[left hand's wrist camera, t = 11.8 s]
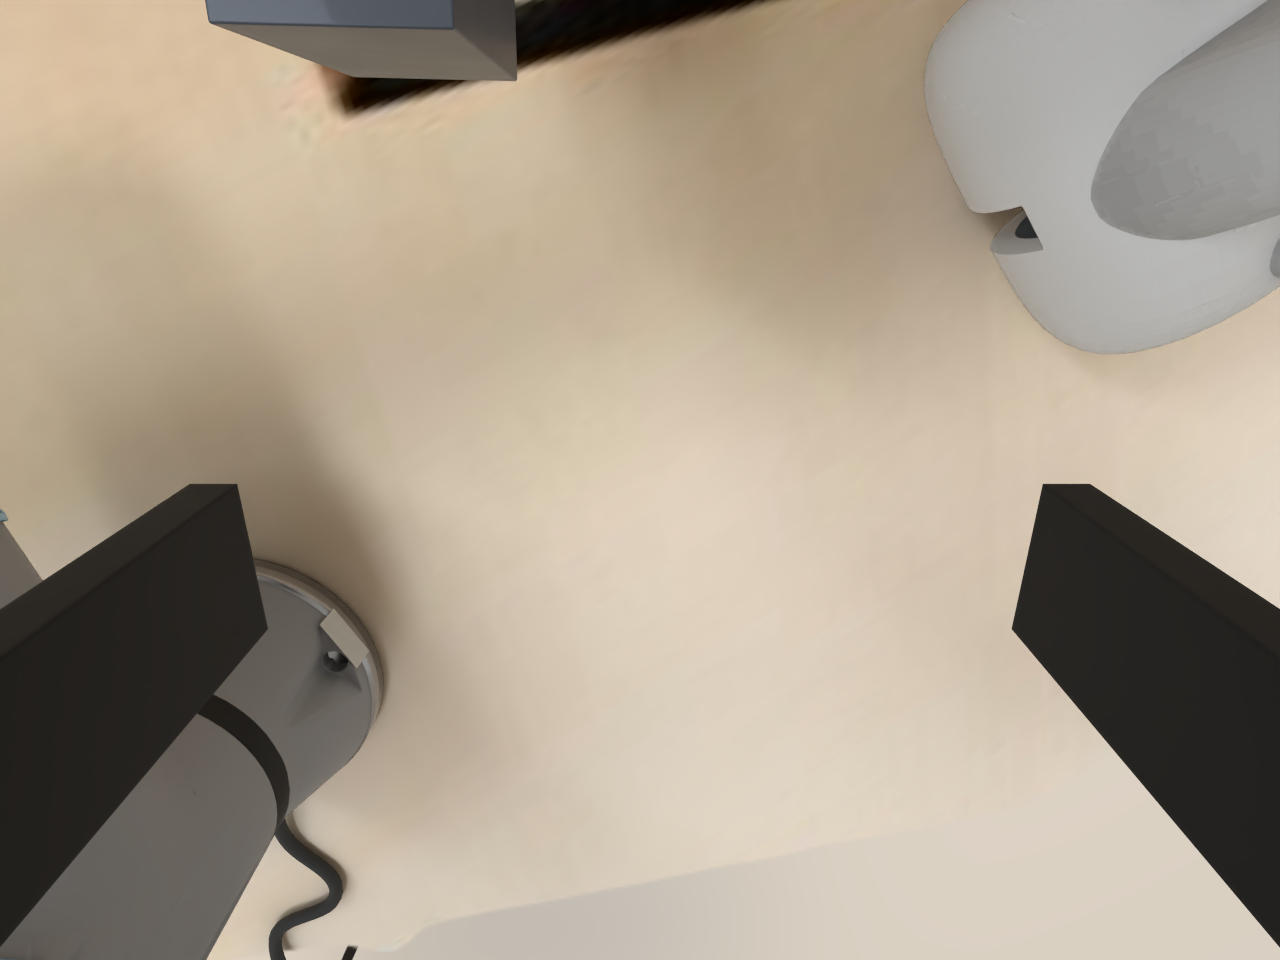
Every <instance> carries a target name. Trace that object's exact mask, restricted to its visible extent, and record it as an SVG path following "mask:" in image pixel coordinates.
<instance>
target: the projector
mask: <svg viewBox="0 0 1280 960" xmlns="http://www.w3.org/2000/svg"><path fill="white" fill-rule="evenodd" d="M924 95H925V103H926V109H927V113H928V117H929V121H930V123H931V126H932V129H933V132H934V135H935V138H936V141H937V143H938V145H939V148H940V150H941V152H942V155H943V157H944V159H945V162H946V164H947V166H948V168H949V170H950V172H951V174H952V177H953V179H954V181H955V183H956V185H957V187H958V189H959V191H960V193H961V195H962V196H963V198H964V200H965V202H966V204H967V206H968V208H969V209H970V210H971V211H973V212H976V213H993V212H999V211H1004V210H1009V209H1013V208H1016V207H1020V206H1021V207H1023V209H1024V210H1023V211H1021V212H1020V213H1019V214H1017V215H1016V216H1015V217H1013V218H1012V219H1011V220H1010V221H1008V222H1007V223H1006V224H1005V225H1004V226H1003V227H1002V228H1001V229H1000V230H999V232H998V233H997V234H996V236H995V237H994V238H993V240H992V243H991V245H990V249H991V251H992V253H993V255H994V257H995V258H996V260H997V262H998V264H999V266H1000V268H1001V269H1002V271H1003V273H1004V275H1005V276H1006V278H1007V280H1008V281H1009V283H1010V285H1011V287H1012V288H1013V290H1014V291H1015V293H1016V294H1017V296H1018V298H1019V299H1020V301H1021V302H1022V303H1023V305H1024V306H1025V308H1026V309H1027V310H1028V311H1029V313H1030V314H1031V315H1032V317H1033V318H1034V319H1035V320H1036V321H1037V322H1038V323H1039V324H1040V325H1041V326H1042V327H1043V328H1044V329H1045V330H1046V331H1048V332H1049V333H1050V334H1051V335H1053V336H1054V337H1055V338H1057V339H1059V340H1060V341H1062V342H1064V343H1065V344H1067V345H1070V346H1072V347H1074V348H1077V349H1080V350H1083V351H1086V352H1091V353H1096V354H1123V353H1132V352H1137V351H1142V350H1146V349H1151V348H1155V347H1160V346H1163V345H1166V344H1169V343H1172V342H1175V341H1178V340H1181V339H1184V338H1186V337H1189V336H1191V335H1193V334H1195V333H1198V332H1200V331H1202V330H1205V329H1207V328H1209V327H1212V326H1214V325H1216V324H1218V323H1220V322H1222V321H1224V320H1226V319H1227V318H1229V317H1231V316H1233V315H1235V314H1237V313H1238V312H1240V311H1242V310H1244V309H1246V308H1248V307H1249V306H1251V305H1252V304H1254V303H1255V302H1257V301H1259V300H1260V299H1262V298H1263V297H1265V296H1266V295H1268V294H1269V293H1271V292H1272V291H1274V290H1275V289H1277V288H1278V287H1280V0H968V1H966V2H965V3H964V4H963V5H962V6H961V7H960V8H959V9H958V10H957V11H956V12H955V14H954V15H953V16H952V17H951V18H950V19H949V21H948V22H947V23H946V24H945V26H944V27H943V28H942V29H941V31H940V32H939V34H938V35H937V37H936V39H935V41H934V43H933V45H932V47H931V49H930V52H929V55H928V58H927V62H926V68H925V79H924Z"/></svg>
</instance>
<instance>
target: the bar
mask: <svg viewBox="0 0 1280 960" xmlns="http://www.w3.org/2000/svg"><path fill="white" fill-rule="evenodd" d="M205 2H206V8H207V14H208V20H209V22H210V23H211V24H213V25H216V26H219V27H221V28H224V29H227V30H230V31H232V32H235V33H238V34H240V35H243V36H246V37H248V38H251V39H254V40H256V41H259V42H262V43H264V44H267V45H270V46H272V47H275V48H278V49H280V50H283V51H286V52H288V53H291V54H294V55H296V56H299V57H302V58H304V59H307V60H310V61H312V62H315V63H318V64H320V65H323V66H326V67H328V68H331V69H334V70H337V71H339V72H342V73H345V74H347V75H350V76H353V77H379V78H417V79H456V80H495V81H516V80H517V61H516V31H515V1H514V0H205Z"/></svg>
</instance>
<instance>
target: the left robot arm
mask: <svg viewBox="0 0 1280 960" xmlns="http://www.w3.org/2000/svg"><path fill="white" fill-rule="evenodd" d="M7 520H8V518H7V516H6V514H5V512H4V511H3V510H2V509H0V960H206V959H207V957H208V955H209V954H210V952H211V950H212V948H213V946H214V944H215V943H216V941H217V939H218V937H219V935H220V934H221V932H222V930H223V928H224V926H225V924H226V923H227V921H228V919H229V917H230V915H231V914H232V912H233V910H234V908H235V906H236V904H237V903H238V901H239V899H240V897H241V895H242V893H243V892H244V890H245V888H246V886H247V884H248V883H249V881H250V879H251V877H252V875H253V873H254V872H255V870H256V868H257V866H258V864H259V863H260V861H261V859H262V857H263V855H264V853H265V852H266V850H267V848H268V846H269V844H270V842H271V840H272V838H273V837H274V835H275V836H276V838H277V840H278V841H279V843H280V844H281V845H282V847H283V848H284V849H285V850H286V851H287V852H288V853H289V854H290V855H292V856H293V857H294V858H295V859H297V860H298V861H299V862H301V863H302V864H304V865H305V866H307V867H308V868H310V869H311V870H312V871H314V872H315V873H316V874H318V875H319V876H320V877H321V878H322V879H323V880H324V881H325V882H326V884H327V885H328V887H329V890H330V892H329V897H328V898H327V899H326V900H324V901H323V902H321V903H319V904H317V905H314V906H312V907H309V908H306V909H303V910H301V911H298V912H295V913H293V914H290V915H288V916H286V917H284V918H283V919H281V920H280V921H279V922H277V924H276V925H275V926H274V928H273V929H272V930H271V933H270V936H269V952H270V957H271V960H286V958H285V956H284V952H283V948H282V936H283V934H284V933H285V932H286V931H287V930H289V929H290V928H292V927H294V926H297V925H300V924H302V923H305V922H308V921H311V920H314V919H316V918H319V917H321V916H324V915H325V914H327V913H329V912H331V911H332V910H333V909H334V908H335V907H336V906H337V904H338V903H339V901H340V900H341V898H342V893H343V887H342V881H341V879H340V876H339V875H338V873H337V872H336V871H335V869H334V868H333V867H332V866H331V865H329V864H328V863H327V862H326V861H325V860H323V859H322V858H320V857H319V856H318V855H316V854H315V853H313V852H312V851H311V850H309V849H308V848H306V847H305V846H304V845H303V844H301V843H300V842H299V841H298V840H297V839H296V838H295V837H294V835H293V834H292V833H291V831H290V830H289V828H288V826H287V823H286V820H285V817H286V816H287V815H288V814H289V813H290V812H291V811H293V810H294V809H295V808H296V807H297V806H298V805H300V804H301V803H302V802H303V801H304V800H305V799H306V798H308V797H309V796H310V795H311V794H312V793H313V792H314V791H316V790H317V789H318V788H319V787H320V786H321V785H323V784H324V783H325V782H326V781H327V780H328V779H329V778H331V777H332V776H333V775H334V774H335V773H336V772H338V771H339V770H340V769H341V768H342V767H343V766H345V765H346V764H347V763H348V762H349V761H350V760H351V759H352V758H353V757H354V755H355V754H356V753H357V752H358V750H359V749H360V747H361V746H362V744H363V742H364V741H365V739H366V737H367V735H368V733H369V731H370V729H371V727H372V725H373V723H374V721H375V719H376V716H377V714H378V712H379V708H380V705H381V701H382V695H383V674H382V668H381V663H380V660H379V656H378V653H377V650H376V648H375V646H374V644H373V641H372V639H371V638H370V636H369V634H368V632H367V631H366V629H365V628H364V626H363V625H362V623H361V622H360V620H359V619H358V618H357V617H356V616H355V614H354V613H353V612H352V611H351V610H350V609H349V608H348V607H347V606H346V605H345V604H344V603H343V602H342V601H341V600H340V599H339V598H337V597H336V596H335V595H334V594H333V593H331V592H330V591H329V590H327V589H326V588H324V587H323V586H322V585H320V584H318V583H317V582H315V581H313V580H312V579H310V578H308V577H306V576H304V575H302V574H300V573H298V572H296V571H293V570H291V569H288V568H286V567H283V566H280V565H277V564H273V563H270V562H266V561H261V560H256V559H253V556H252V551H251V547H250V542H249V537H248V533H247V528H246V524H245V519H244V514H243V510H242V505H241V500H240V496H239V491H238V486H237V484H189V485H188V486H186V487H185V488H183V489H182V490H180V491H179V492H177V493H176V494H174V495H173V496H171V497H170V498H168V499H167V500H165V501H163V502H162V503H160V504H159V505H157V506H156V507H154V508H153V509H151V510H150V511H148V512H147V513H145V514H144V515H142V516H141V517H139V518H138V519H136V520H135V521H133V522H132V523H130V524H129V525H127V526H126V527H124V528H123V529H121V530H119V531H118V532H116V533H115V534H113V535H112V536H110V537H109V538H107V539H106V540H104V541H103V542H101V543H100V544H98V545H97V546H95V547H94V548H92V549H91V550H89V551H88V552H86V553H85V554H83V555H82V556H80V557H79V558H77V559H75V560H74V561H72V562H71V563H69V564H68V565H66V566H65V567H63V568H62V569H60V570H59V571H57V572H56V573H54V574H53V575H51V576H50V577H48V578H47V579H45V580H44V581H43V580H42V579H41V577H40V576H39V574H38V573H37V571H36V570H35V569H34V567H33V566H32V564H31V563H30V561H29V560H28V558H27V557H26V555H25V554H24V552H23V551H22V550H21V548H20V547H19V545H18V544H17V542H16V541H15V539H14V538H13V536H12V535H11V533H10V532H9V530H8V529H7V528H6V526H5V525H4V523H3V522H4V521H7ZM1012 630H1013V631H1014V632H1015V633H1016V635H1017V636H1018V637H1019V638H1020V639H1021V641H1022V642H1023V643H1024V644H1025V645H1026V646H1027V648H1028V649H1029V650H1030V651H1031V652H1032V654H1033V655H1034V656H1035V657H1036V658H1037V660H1038V661H1039V662H1040V663H1041V664H1042V665H1043V667H1044V668H1045V669H1046V670H1047V671H1048V673H1049V674H1050V675H1051V676H1052V677H1053V679H1054V680H1055V681H1056V682H1057V683H1058V684H1059V686H1060V687H1061V688H1062V689H1063V690H1064V692H1065V693H1066V694H1067V695H1068V696H1069V698H1070V699H1071V700H1072V701H1073V702H1074V703H1075V705H1076V706H1077V707H1078V708H1079V709H1080V711H1081V712H1082V713H1083V714H1084V715H1085V717H1086V718H1087V719H1088V720H1089V721H1090V722H1091V724H1092V725H1093V726H1094V727H1095V728H1096V730H1097V731H1098V732H1099V733H1100V734H1101V736H1102V737H1103V738H1104V739H1105V740H1106V741H1107V743H1108V744H1109V745H1110V746H1111V747H1112V749H1113V750H1114V751H1115V752H1116V753H1117V755H1118V756H1119V757H1120V758H1121V759H1122V760H1123V762H1124V763H1125V764H1126V765H1127V766H1128V768H1129V769H1130V770H1131V771H1132V772H1133V774H1134V775H1135V776H1136V777H1137V778H1138V779H1139V781H1140V782H1141V783H1142V784H1143V785H1144V787H1145V788H1146V789H1147V790H1148V791H1149V792H1150V794H1151V795H1152V796H1153V797H1154V798H1155V800H1156V801H1157V802H1158V803H1159V804H1160V806H1161V807H1162V808H1163V809H1164V810H1165V812H1166V813H1167V814H1168V815H1169V816H1170V817H1171V819H1172V820H1173V821H1174V822H1175V823H1176V825H1177V826H1178V827H1179V828H1180V829H1181V831H1182V832H1183V833H1184V834H1185V835H1186V837H1187V838H1188V839H1189V840H1190V841H1191V842H1192V844H1193V845H1194V846H1195V847H1196V848H1197V850H1198V851H1199V852H1200V853H1201V854H1202V856H1203V857H1204V858H1205V859H1206V860H1207V861H1208V863H1209V864H1210V865H1211V866H1212V867H1213V869H1214V870H1215V871H1216V872H1217V873H1218V875H1219V876H1220V877H1221V878H1222V879H1223V880H1224V882H1225V883H1226V884H1227V885H1228V886H1229V888H1230V889H1231V890H1232V891H1233V892H1234V894H1235V895H1236V896H1237V897H1238V898H1239V899H1240V901H1241V902H1242V903H1243V904H1244V905H1245V907H1246V908H1247V909H1248V910H1249V911H1250V913H1251V914H1252V915H1253V916H1254V917H1255V918H1256V920H1257V921H1258V922H1259V923H1260V924H1261V926H1262V927H1263V928H1264V929H1265V930H1266V932H1267V933H1268V934H1269V935H1270V936H1271V937H1272V939H1273V940H1274V941H1275V942H1276V943H1277V945H1278V946H1279V947H1280V609H1279V608H1277V607H1276V606H1274V605H1273V604H1271V603H1270V602H1268V601H1267V600H1265V599H1264V598H1262V597H1261V596H1259V595H1258V594H1256V593H1255V592H1253V591H1252V590H1250V589H1249V588H1247V587H1245V586H1244V585H1242V584H1241V583H1239V582H1238V581H1236V580H1235V579H1233V578H1232V577H1230V576H1229V575H1227V574H1226V573H1224V572H1223V571H1221V570H1220V569H1218V568H1217V567H1215V566H1214V565H1212V564H1211V563H1209V562H1208V561H1206V560H1205V559H1203V558H1201V557H1200V556H1198V555H1197V554H1195V553H1194V552H1192V551H1191V550H1189V549H1188V548H1186V547H1185V546H1183V545H1182V544H1180V543H1179V542H1177V541H1176V540H1174V539H1173V538H1171V537H1170V536H1168V535H1167V534H1165V533H1164V532H1162V531H1161V530H1159V529H1157V528H1156V527H1154V526H1153V525H1151V524H1150V523H1148V522H1147V521H1145V520H1144V519H1142V518H1141V517H1139V516H1138V515H1136V514H1135V513H1133V512H1132V511H1130V510H1129V509H1127V508H1126V507H1124V506H1123V505H1121V504H1120V503H1118V502H1117V501H1115V500H1113V499H1112V498H1110V497H1109V496H1107V495H1106V494H1104V493H1103V492H1101V491H1100V490H1098V489H1097V488H1095V487H1094V486H1092V485H1091V484H1043V486H1042V491H1041V496H1040V500H1039V505H1038V510H1037V514H1036V519H1035V524H1034V528H1033V533H1032V537H1031V542H1030V547H1029V551H1028V556H1027V561H1026V565H1025V570H1024V575H1023V579H1022V584H1021V589H1020V593H1019V598H1018V603H1017V607H1016V612H1015V616H1014V621H1013V626H1012ZM357 948H358V947H356V946H347V948H346V950H345V953H344V955H343V957H342V960H353V957H354V955H355V953H356V951H357Z"/></svg>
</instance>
